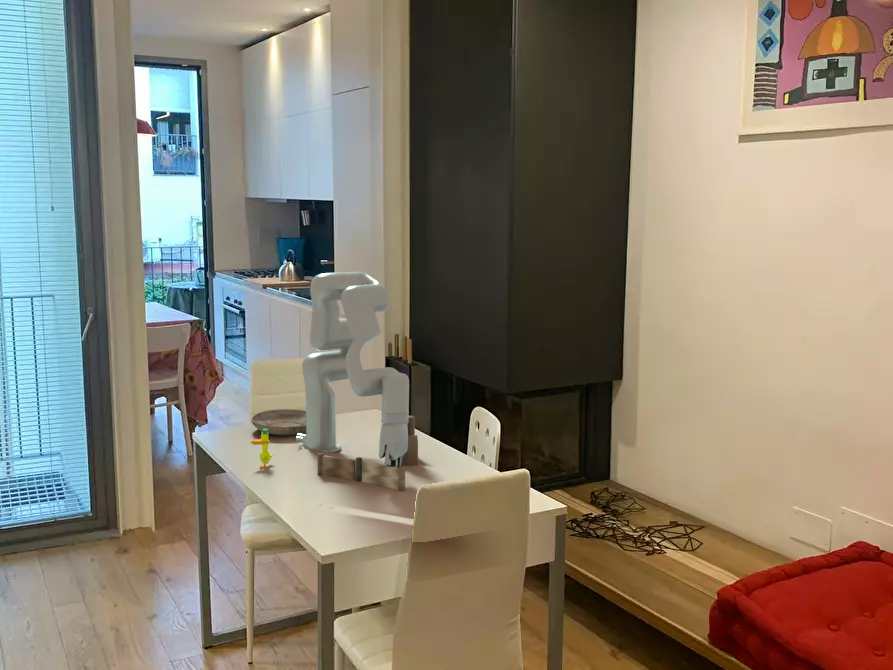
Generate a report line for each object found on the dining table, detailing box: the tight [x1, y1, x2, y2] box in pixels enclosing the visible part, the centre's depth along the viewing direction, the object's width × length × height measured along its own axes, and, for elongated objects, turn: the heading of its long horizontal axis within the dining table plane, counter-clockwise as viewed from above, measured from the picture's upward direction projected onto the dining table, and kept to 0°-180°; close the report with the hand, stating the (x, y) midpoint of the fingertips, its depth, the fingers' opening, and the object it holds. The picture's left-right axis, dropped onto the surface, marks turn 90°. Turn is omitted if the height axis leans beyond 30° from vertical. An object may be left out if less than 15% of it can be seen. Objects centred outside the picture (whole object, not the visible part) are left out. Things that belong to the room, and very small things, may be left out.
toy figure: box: [250, 429, 275, 470], centre depth 261 cm, size 7×4×12 cm, turn 99°
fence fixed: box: [317, 452, 363, 483], centre depth 250 cm, size 14×2×7 cm, turn 68°
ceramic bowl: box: [251, 408, 306, 436], centre depth 302 cm, size 23×24×5 cm
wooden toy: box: [400, 415, 419, 467], centre depth 268 cm, size 16×7×25 cm, turn 8°
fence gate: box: [361, 460, 406, 492], centre depth 244 cm, size 14×2×6 cm, turn 60°
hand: (394, 480), depth 247 cm, fingers closed
